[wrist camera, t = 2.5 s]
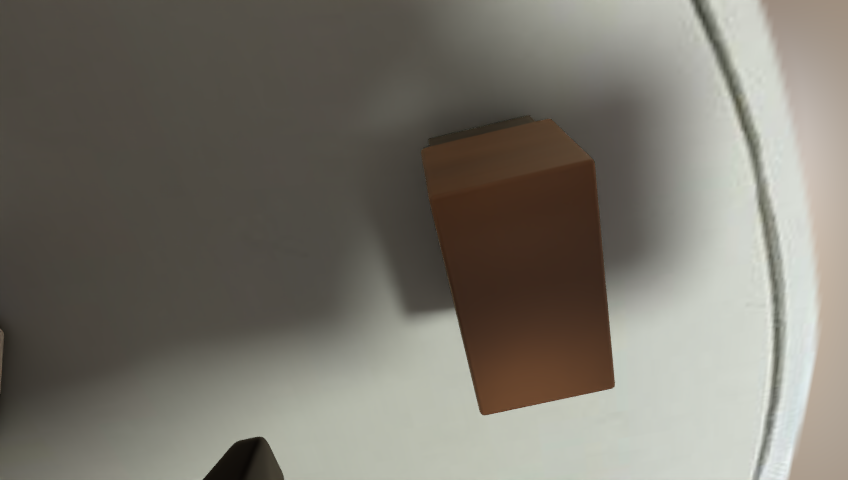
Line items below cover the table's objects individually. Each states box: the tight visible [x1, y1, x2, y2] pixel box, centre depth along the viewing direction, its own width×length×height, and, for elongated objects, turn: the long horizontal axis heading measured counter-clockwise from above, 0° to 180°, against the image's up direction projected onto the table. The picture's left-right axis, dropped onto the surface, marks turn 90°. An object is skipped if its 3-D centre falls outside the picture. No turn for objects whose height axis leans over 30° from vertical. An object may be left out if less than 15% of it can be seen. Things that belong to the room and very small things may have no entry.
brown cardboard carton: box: [421, 115, 615, 415], centre depth 12 cm, size 5×3×4 cm, turn 13°
